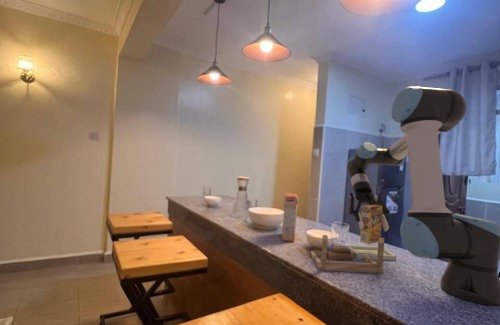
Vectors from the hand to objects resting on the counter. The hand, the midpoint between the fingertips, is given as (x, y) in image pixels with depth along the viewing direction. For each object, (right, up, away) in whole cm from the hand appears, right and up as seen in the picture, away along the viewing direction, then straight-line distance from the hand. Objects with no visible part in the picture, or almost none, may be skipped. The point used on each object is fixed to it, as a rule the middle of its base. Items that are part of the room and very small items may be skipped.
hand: (374, 228), depth 113 cm
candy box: (0, -6, +3) cm, 7 cm away
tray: (-1, -11, +3) cm, 12 cm away
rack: (-15, -11, -9) cm, 21 cm away
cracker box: (-32, -9, +21) cm, 40 cm away
